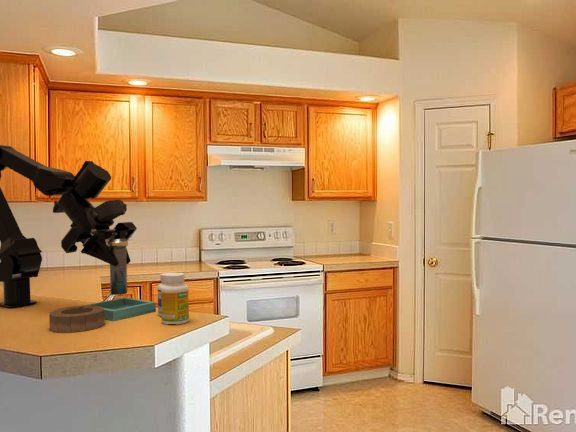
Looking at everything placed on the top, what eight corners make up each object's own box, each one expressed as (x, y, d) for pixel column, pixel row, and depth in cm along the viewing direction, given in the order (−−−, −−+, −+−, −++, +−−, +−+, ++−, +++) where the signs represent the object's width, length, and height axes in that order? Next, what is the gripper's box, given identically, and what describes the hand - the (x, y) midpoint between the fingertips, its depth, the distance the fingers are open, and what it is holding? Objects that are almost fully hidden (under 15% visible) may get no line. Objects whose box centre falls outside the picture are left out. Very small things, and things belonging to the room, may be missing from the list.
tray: (82, 314, 114) (82, 305, 114) (125, 305, 123) (125, 297, 123) (113, 320, 108) (113, 311, 108) (155, 311, 117) (155, 302, 116)
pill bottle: (186, 312, 115) (185, 271, 115) (179, 317, 110) (178, 275, 110) (162, 311, 116) (162, 271, 115) (154, 317, 111) (153, 275, 110)
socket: (39, 327, 103) (39, 312, 103) (85, 317, 111) (85, 303, 111) (68, 335, 97) (67, 318, 97) (114, 324, 105) (114, 309, 105)
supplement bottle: (180, 325, 103) (179, 276, 102) (156, 324, 104) (155, 275, 104) (193, 319, 108) (192, 272, 107) (170, 318, 110) (169, 271, 109)
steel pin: (104, 294, 114) (103, 239, 113) (115, 291, 118) (114, 238, 117) (122, 295, 113) (121, 239, 112) (132, 291, 117) (131, 238, 116)
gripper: (70, 187, 107) (115, 242, 104) (129, 188, 125) (169, 235, 121) (42, 225, 110) (84, 279, 107) (103, 220, 128) (141, 267, 124)
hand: (123, 263), depth 115 cm, fingers closed on steel pin, 3 cm apart
